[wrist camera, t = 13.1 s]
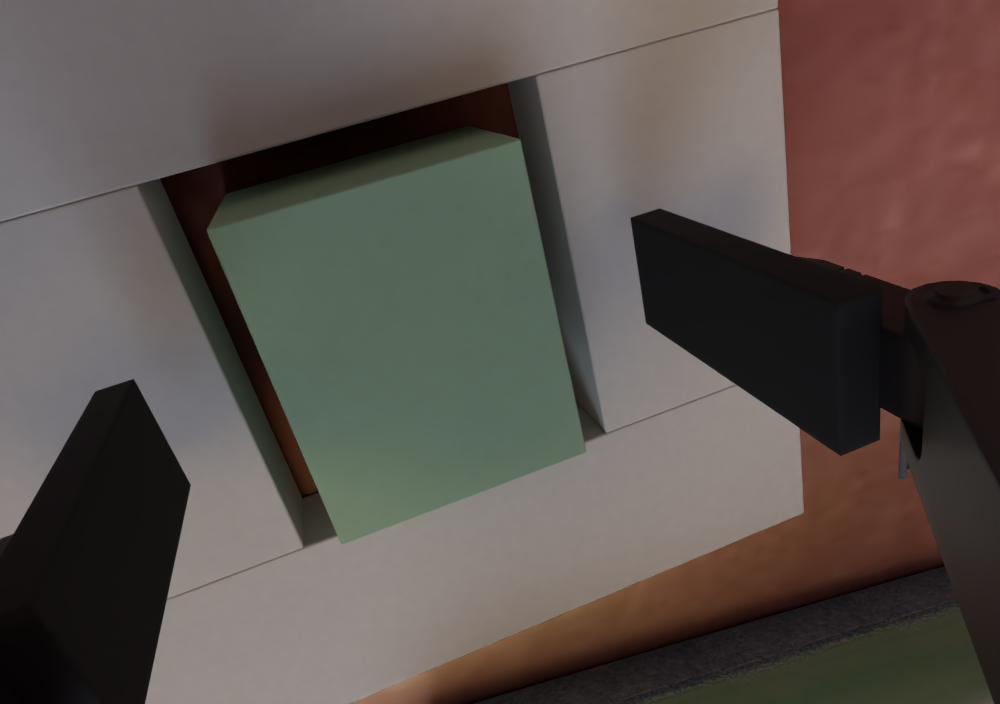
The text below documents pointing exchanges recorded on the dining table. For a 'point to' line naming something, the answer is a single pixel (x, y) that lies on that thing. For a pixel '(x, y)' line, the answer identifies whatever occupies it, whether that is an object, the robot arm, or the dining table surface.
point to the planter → (802, 657)
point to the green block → (405, 323)
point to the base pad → (223, 379)
